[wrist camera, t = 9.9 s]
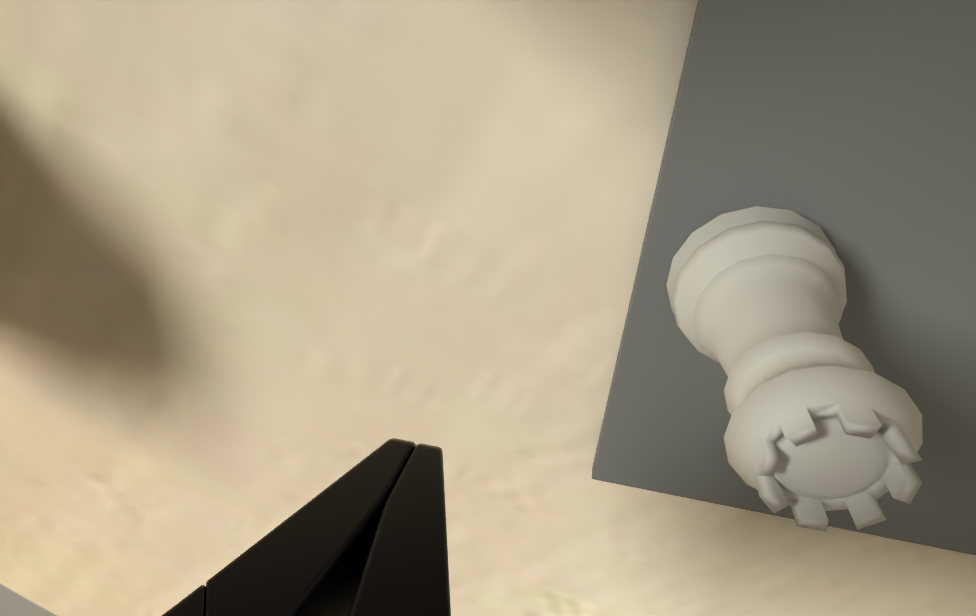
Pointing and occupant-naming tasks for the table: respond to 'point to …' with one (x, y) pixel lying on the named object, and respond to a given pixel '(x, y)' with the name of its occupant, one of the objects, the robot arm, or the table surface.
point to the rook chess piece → (793, 368)
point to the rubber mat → (844, 220)
